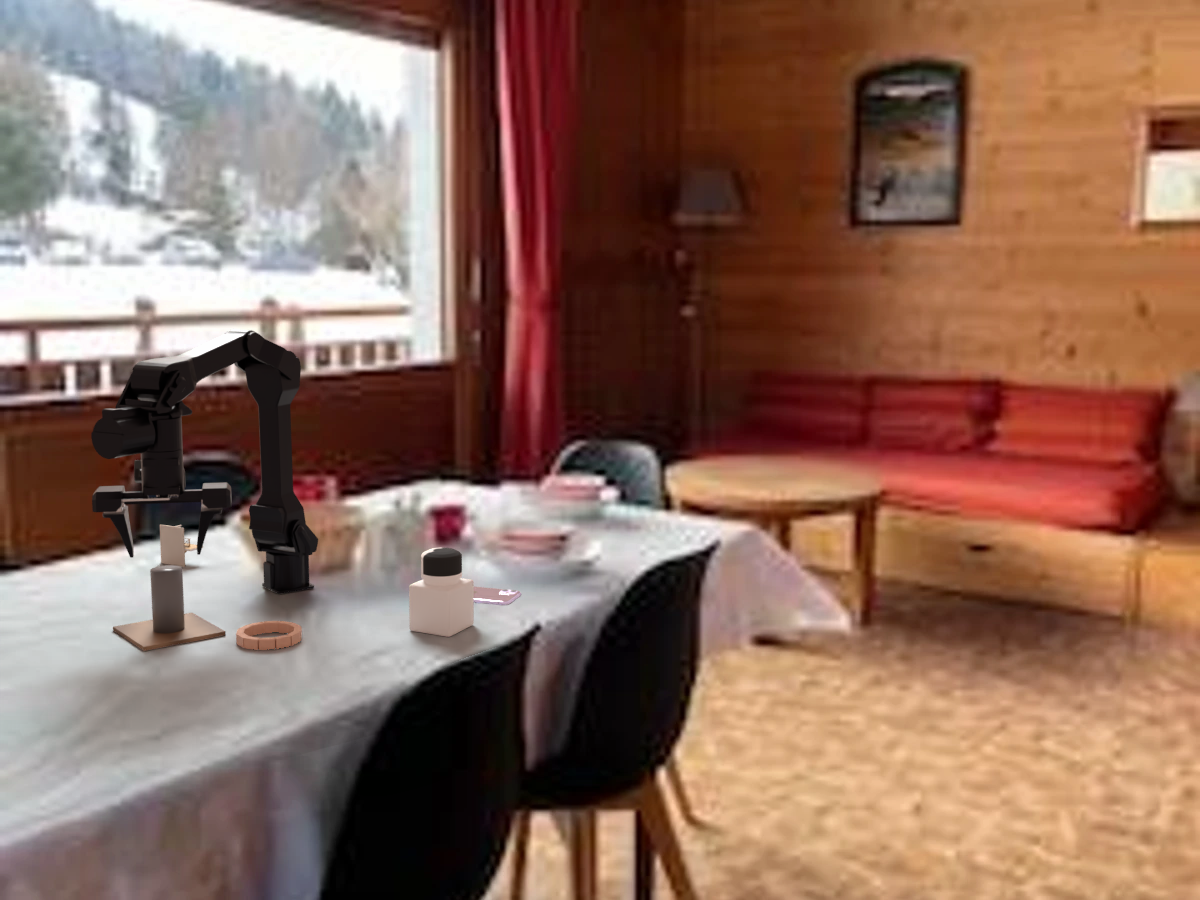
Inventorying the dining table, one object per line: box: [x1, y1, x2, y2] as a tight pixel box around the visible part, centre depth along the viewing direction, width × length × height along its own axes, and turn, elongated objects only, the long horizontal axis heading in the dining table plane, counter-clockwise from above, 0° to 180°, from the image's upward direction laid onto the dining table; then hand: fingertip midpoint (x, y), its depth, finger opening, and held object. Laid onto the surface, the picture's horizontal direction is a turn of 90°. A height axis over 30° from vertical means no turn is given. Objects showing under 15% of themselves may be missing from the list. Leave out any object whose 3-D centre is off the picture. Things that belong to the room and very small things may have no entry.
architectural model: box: [159, 524, 204, 568], centre depth 226 cm, size 3×7×7 cm, turn 64°
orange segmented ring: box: [235, 620, 303, 651], centre depth 184 cm, size 9×9×2 cm
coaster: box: [112, 612, 226, 652], centre depth 187 cm, size 12×12×1 cm
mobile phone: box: [474, 586, 522, 606], centre depth 209 cm, size 8×1×15 cm
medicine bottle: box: [408, 547, 475, 638], centre depth 190 cm, size 7×7×12 cm
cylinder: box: [150, 564, 185, 633], centre depth 186 cm, size 4×4×9 cm
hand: (165, 555), depth 185 cm, fingers open, 9 cm apart
